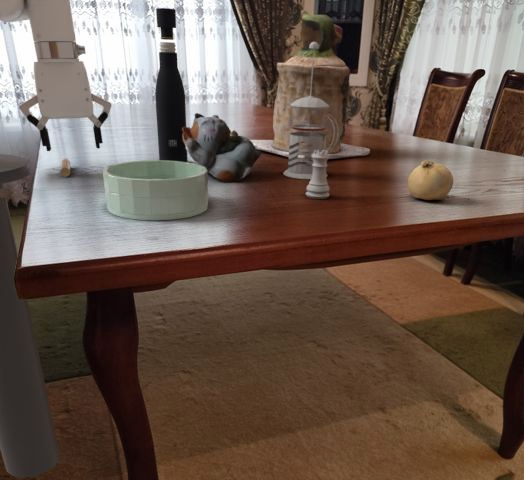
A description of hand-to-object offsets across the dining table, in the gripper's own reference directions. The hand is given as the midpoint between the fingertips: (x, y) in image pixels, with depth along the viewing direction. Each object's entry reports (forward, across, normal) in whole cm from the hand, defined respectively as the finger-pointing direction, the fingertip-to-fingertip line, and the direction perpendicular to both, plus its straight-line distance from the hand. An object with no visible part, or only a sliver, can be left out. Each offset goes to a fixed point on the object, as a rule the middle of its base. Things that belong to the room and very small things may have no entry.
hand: (73, 148), depth 108 cm
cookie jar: (+7, -59, -17) cm, 61 cm away
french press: (+6, -48, +11) cm, 49 cm away
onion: (+7, -62, +36) cm, 72 cm away
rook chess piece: (+6, -42, +30) cm, 52 cm away
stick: (+4, +1, 0) cm, 4 cm away
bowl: (+5, -12, +32) cm, 34 cm away
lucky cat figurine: (+6, -29, +9) cm, 31 cm away
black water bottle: (+6, -21, -6) cm, 23 cm away
